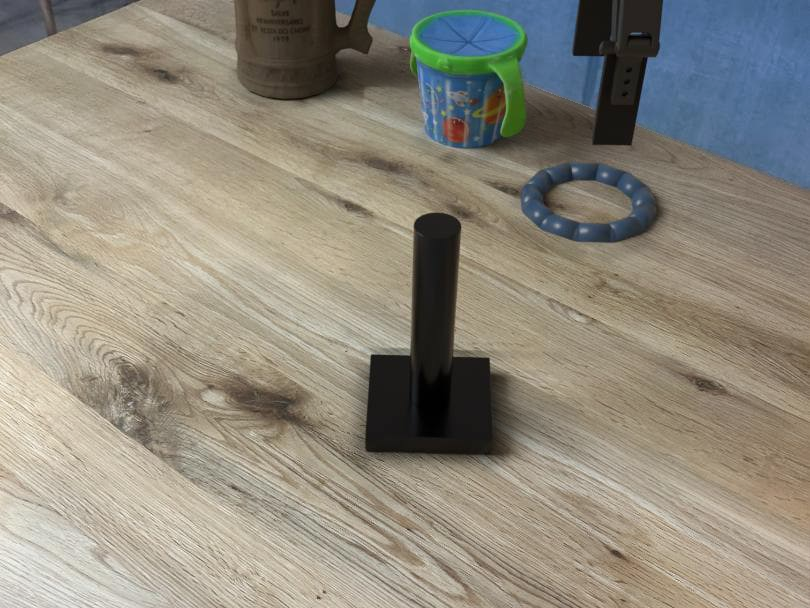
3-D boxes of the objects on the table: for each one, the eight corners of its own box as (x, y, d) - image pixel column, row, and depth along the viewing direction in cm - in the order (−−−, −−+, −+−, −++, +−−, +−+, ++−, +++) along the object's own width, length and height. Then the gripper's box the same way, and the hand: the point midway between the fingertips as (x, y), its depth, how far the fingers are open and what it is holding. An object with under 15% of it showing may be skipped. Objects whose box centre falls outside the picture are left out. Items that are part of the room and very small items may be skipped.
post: (488, 372, 80) (506, 188, 69) (491, 455, 75) (512, 269, 63) (370, 369, 81) (369, 185, 69) (365, 451, 75) (362, 265, 63)
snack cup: (379, 113, 107) (379, 9, 99) (469, 92, 110) (476, -10, 102) (454, 188, 98) (460, 80, 90) (550, 162, 101) (564, 56, 93)
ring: (644, 180, 99) (648, 160, 98) (661, 253, 91) (666, 233, 90) (516, 176, 99) (518, 156, 98) (523, 249, 91) (525, 229, 90)
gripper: (570, -307, 70) (536, 21, 86) (618, -195, 54) (565, 185, 70) (683, -305, 70) (628, 23, 86) (765, -192, 54) (678, 186, 70)
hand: (599, 96), depth 78 cm, fingers open, 13 cm apart
